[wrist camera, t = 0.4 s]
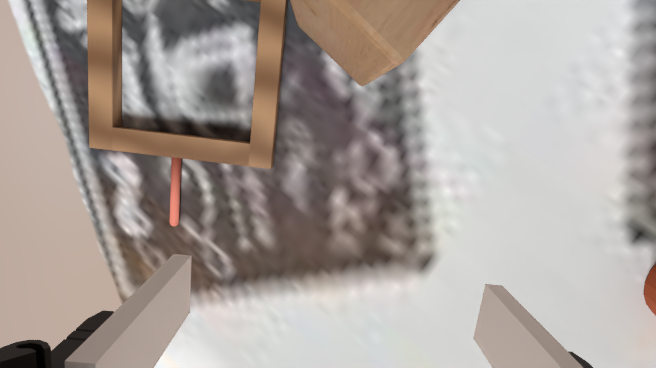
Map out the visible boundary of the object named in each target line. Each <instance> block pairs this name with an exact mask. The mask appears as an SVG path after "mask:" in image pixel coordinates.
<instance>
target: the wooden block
mask: <svg viewBox="0 0 656 368" xmlns="http://www.w3.org/2000/svg"><path fill="white" fill-rule="evenodd" d="M290 1H291V5H292V8H293V11H294V14H295V18H296V21H297V24H298V26H299V27H300V28H301V29H302V30H303V31H304V32H305V33H306V34H307V35H308V36H309V37H310V38H311V39H312V40H313V41H315V42H316V43H317V44H318V45H319V46H320V47H321V48H322V49H323V50H324V51H325V52H326V53H327V54H328V55H329V56H330V57H331V58H332V59H333V60H334V61H335V62H336V63H337V64H338V65H339V66H341V67H342V68H343V69H344V70H345V71H346V72H347V73H348V74H349V75H350V76H351V77H352V78H353V79H354V80H355V81H356V82H357V83H358V84H359V85H361V86H364V85H366V84H368V83H369V82H371V81H373V80H375V79H376V78H378V77H380V76H381V75H383V74H385V73H386V72H388V71H390V70H391V69H393V68H395V67H396V66H398V65H400V64H401V63H403V62H404V61H405V60H406V59H407V58H408V57H409V56H410V55H411V54H412V53H413V52H414V50H415V49H416V48H417V47H418V46H419V45H420V44H421V43H422V42H423V41H424V39H425V38H426V37H427V36H428V35H429V34H430V33H431V32H432V31H433V30H434V28H435V27H436V26H437V25H438V24H439V23H440V22H441V21H442V20H443V19H444V17H445V16H446V15H447V14H448V13H449V12H450V11H451V10H452V9H453V8H454V6H455V5H456V4H457V3H458V2H459V1H460V0H290Z"/></svg>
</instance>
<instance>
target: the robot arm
mask: <svg viewBox="0 0 656 368" xmlns="http://www.w3.org/2000/svg"><path fill="white" fill-rule="evenodd" d="M190 287H191V256H188V255H178V254H173V255H172V256H171V257H170V258H169V259H168V260H167V261H166V262H165V263H164V264H163V265H162V266H161V267H160V268H159V269H158V270H157V271H156V272H155V273H154V274H153V275H152V276H151V277H150V278H149V279H148V280H147V281H146V282H145V283H144V284H143V285H142V286H141V287H140V288H139V289H138V290H137V291H136V292H135V293H134V294H133V295H132V296H130V297H129V298H128V299H127V300H126V301H125V302H124V303H123V304H122V305H121V306H120V307H119V308H118V309H117V310H116V311H115V312H113V311H101V312H100V313H98V314H96V315H94V316H92V317H90V318H88V319H87V320H86V321H84V322H83V323H82V324H81V325H80V326H79V327H78V328H77V329H76V331H73V332H72V333H71V334H70V335H69V336H68V337H67V339H66V340H63V341H62V342H61V343H60V344H59V345H58V346H57V347H56V348H54V349H53V350H52V351H51V349H50V346H49V345H48V343H46V342H43V341H41V340H26V341H21V342H16V343H13V344H10V345H7V346H4V347H2V348H0V368H154V366H155V365H156V363H157V362H158V360H159V359H160V357H161V356H162V354H163V352H164V351H165V349H166V348H167V346H168V345H169V343H170V342H171V340H172V339H173V337H174V336H175V334H176V333H177V331H178V330H179V328H180V326H181V325H182V323H183V322H184V320H185V319H186V317H187V316H188V314H189V313H190ZM474 340H475V341H476V343H477V344H478V346H479V347H480V349H481V350H482V352H483V354H484V355H485V357H486V358H487V360H488V361H489V363H490V364H491V366H492V368H593V367H592V366H591V365H590V364H589V363H588V362H586V361H585V360H583V359H582V358H580V357H579V356H577V355H576V354H574V353H573V352H568V351H567V350H566V349H565V348H564V347H563V346H562V345H561V344H560V343H559V342H558V341H557V340H556V339H555V338H554V337H553V336H552V335H551V334H550V333H549V332H548V331H547V330H546V329H545V328H544V327H543V326H542V325H541V324H540V323H539V322H538V321H537V320H536V319H535V318H534V317H533V316H532V315H531V314H530V313H529V312H528V311H527V310H526V309H525V308H524V307H523V306H522V305H521V304H520V303H519V302H518V301H517V300H516V299H515V298H514V297H513V296H512V295H511V294H510V293H509V292H508V291H507V290H506V289H505V288H504V287H503V286H500V285H489V284H485V289H484V293H483V298H482V302H481V307H480V311H479V316H478V320H477V325H476V329H475V334H474Z"/></svg>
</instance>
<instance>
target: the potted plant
mask: <svg viewBox="0 0 656 368" xmlns="http://www.w3.org/2000/svg"><path fill="white" fill-rule="evenodd" d="M644 297H645V301H646V304H647V305H648V307H649V308H650V309H651V311H652V312H653V313H654V314H655V315H656V265H655V266H654V267H653V268H652V269H651V270H650V272H649V274H648V277H647V279H646V281H645V286H644Z"/></svg>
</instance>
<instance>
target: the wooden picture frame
mask: <svg viewBox="0 0 656 368" xmlns="http://www.w3.org/2000/svg"><path fill="white" fill-rule="evenodd" d="M247 1H255V2H261V8H260V21H259V34H258V47H257V60H256V73H255V86H254V99H253V112H252V125H251V138H250V142H245V141H237V140H229V139H220V138H212V137H204V136H195V135H187V134H179V133H170V132H162V131H154V130H145V129H137V128H129V127H122V0H87V28H88V91H89V147H90V148H98V149H107V150H115V151H124V152H132V153H141V154H149V155H158V156H166V157H175V158H183V159H192V160H200V161H209V162H217V163H226V164H234V165H243V166H251V167H260V168H268V169H271V168H272V167H273V160H274V149H275V138H276V127H277V116H278V105H279V94H280V83H281V72H282V61H283V50H284V39H285V28H286V17H287V6H288V0H247Z"/></svg>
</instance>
